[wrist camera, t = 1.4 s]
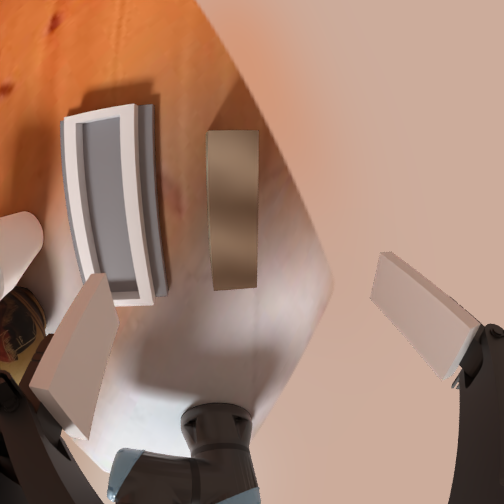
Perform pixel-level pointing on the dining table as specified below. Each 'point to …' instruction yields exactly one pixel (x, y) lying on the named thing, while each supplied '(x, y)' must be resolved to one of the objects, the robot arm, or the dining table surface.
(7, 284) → the cup
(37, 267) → the dining table surface
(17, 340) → the ceramic jug
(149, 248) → the track base
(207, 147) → the beige textured block
